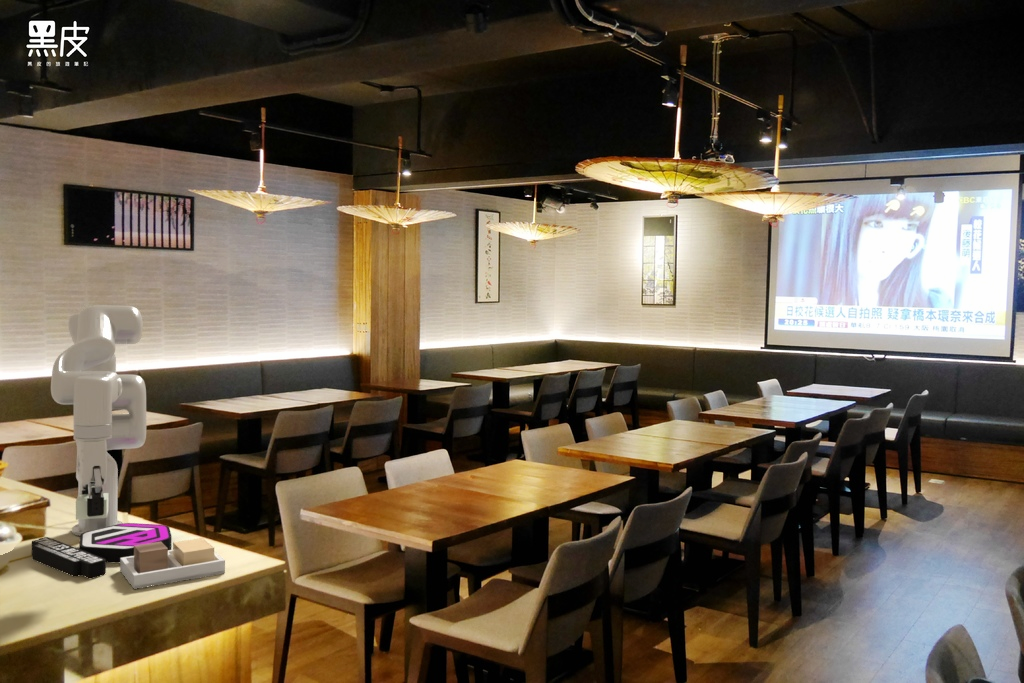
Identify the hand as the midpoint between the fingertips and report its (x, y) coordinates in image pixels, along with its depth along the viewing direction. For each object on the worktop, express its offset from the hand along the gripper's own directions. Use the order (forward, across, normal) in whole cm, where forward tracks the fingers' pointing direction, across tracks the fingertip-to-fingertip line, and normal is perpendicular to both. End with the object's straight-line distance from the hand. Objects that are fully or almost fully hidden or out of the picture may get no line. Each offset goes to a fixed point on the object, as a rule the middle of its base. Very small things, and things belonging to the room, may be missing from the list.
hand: (92, 510), depth 183 cm
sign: (+18, -24, +8) cm, 31 cm away
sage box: (+1, 0, 0) cm, 1 cm away
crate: (+17, -1, +17) cm, 25 cm away
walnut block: (+17, -2, +12) cm, 21 cm away
